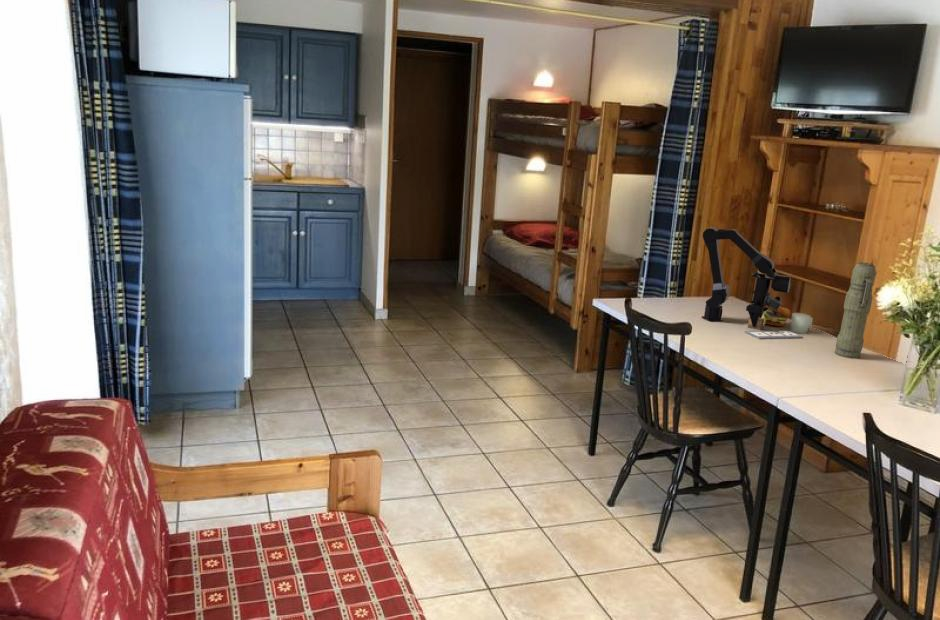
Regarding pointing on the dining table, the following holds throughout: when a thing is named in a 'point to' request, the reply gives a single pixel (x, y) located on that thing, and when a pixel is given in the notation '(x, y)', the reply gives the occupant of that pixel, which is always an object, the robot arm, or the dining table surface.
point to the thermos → (856, 311)
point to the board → (773, 334)
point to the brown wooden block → (758, 325)
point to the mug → (800, 323)
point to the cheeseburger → (776, 316)
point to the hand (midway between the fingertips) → (755, 325)
